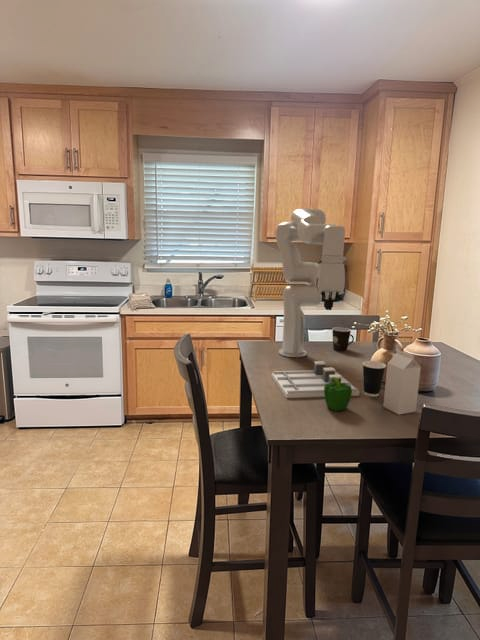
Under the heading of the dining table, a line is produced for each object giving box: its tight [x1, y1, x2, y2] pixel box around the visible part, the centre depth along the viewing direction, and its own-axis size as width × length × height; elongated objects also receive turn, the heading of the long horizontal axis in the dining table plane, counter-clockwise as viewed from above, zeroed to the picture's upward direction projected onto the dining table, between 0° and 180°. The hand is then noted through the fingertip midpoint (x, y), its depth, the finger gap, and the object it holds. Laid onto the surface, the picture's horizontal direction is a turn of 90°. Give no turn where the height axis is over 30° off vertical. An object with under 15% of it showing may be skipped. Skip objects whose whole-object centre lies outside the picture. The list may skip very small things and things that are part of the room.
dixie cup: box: [361, 360, 387, 397], centre depth 157 cm, size 8×8×11 cm
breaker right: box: [329, 374, 341, 383], centre depth 157 cm, size 2×4×5 cm, turn 99°
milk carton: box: [383, 349, 422, 415], centre depth 143 cm, size 7×7×19 cm
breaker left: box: [313, 360, 327, 375], centre depth 173 cm, size 2×4×5 cm, turn 99°
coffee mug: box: [331, 326, 355, 353], centre depth 213 cm, size 12×9×10 cm
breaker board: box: [271, 369, 360, 399], centre depth 165 cm, size 22×26×2 cm
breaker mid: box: [323, 367, 336, 382], centre depth 165 cm, size 2×4×5 cm, turn 99°
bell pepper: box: [324, 377, 352, 412], centre depth 144 cm, size 8×8×10 cm
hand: (328, 309), depth 168 cm, fingers closed
